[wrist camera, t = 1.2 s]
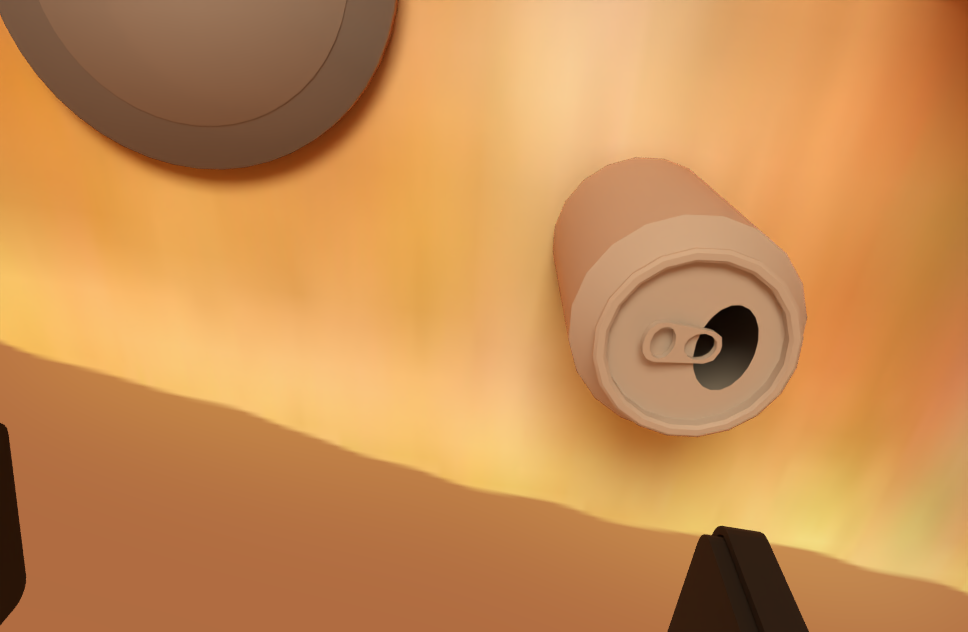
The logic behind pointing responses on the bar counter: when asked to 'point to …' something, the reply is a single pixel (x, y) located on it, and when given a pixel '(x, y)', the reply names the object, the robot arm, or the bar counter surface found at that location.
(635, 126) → the bar counter surface
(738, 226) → the can
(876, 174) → the bar counter surface
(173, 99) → the dish
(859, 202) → the bar counter surface
